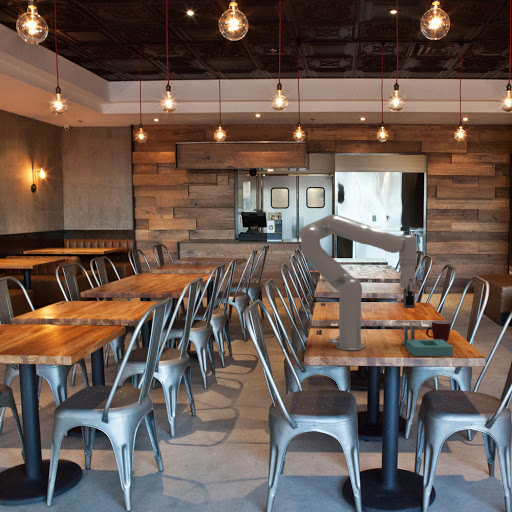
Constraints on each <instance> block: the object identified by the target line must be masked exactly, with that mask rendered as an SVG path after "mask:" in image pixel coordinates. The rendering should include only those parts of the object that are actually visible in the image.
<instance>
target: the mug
mask: <svg viewBox="0 0 512 512" xmlns="http://www.w3.org/2000/svg"><path fill="white" fill-rule="evenodd" d="M451 328H452V326H451V321H448V320H432V321H431V326H429V327H427V328H426V330H425V334H426V337H428V338H429V339H433V340H436V339H442V340H444V341H445V342H447V343H448V341H449V337H450V333H451ZM430 330H431V331H432V335H429V331H430Z"/></svg>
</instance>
